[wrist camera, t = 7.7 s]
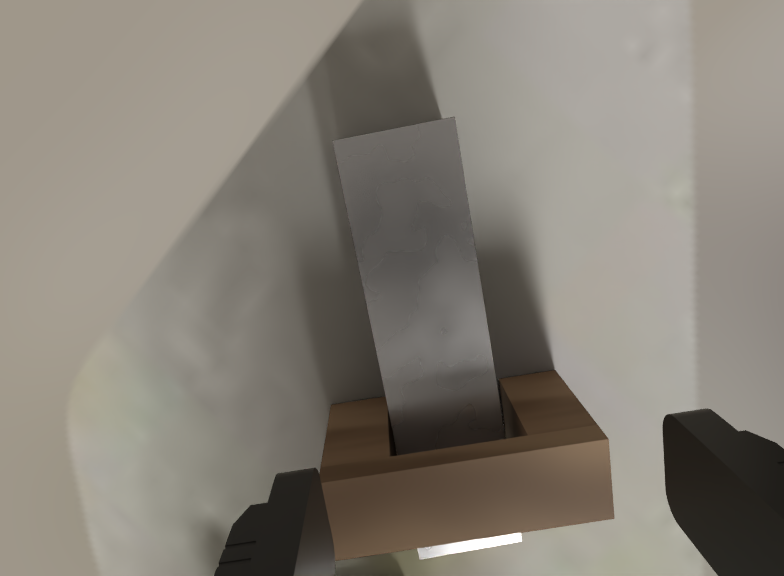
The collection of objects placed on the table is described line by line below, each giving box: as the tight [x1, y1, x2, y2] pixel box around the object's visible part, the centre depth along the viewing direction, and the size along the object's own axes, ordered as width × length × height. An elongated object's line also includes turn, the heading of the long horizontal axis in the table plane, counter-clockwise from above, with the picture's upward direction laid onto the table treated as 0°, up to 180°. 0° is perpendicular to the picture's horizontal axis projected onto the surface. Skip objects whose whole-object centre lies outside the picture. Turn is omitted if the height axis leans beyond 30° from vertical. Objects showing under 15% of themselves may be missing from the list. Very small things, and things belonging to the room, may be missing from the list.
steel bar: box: [332, 117, 522, 560], centre depth 23 cm, size 16×4×4 cm, turn 11°
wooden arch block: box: [319, 370, 614, 561], centre depth 23 cm, size 3×10×6 cm, turn 99°
